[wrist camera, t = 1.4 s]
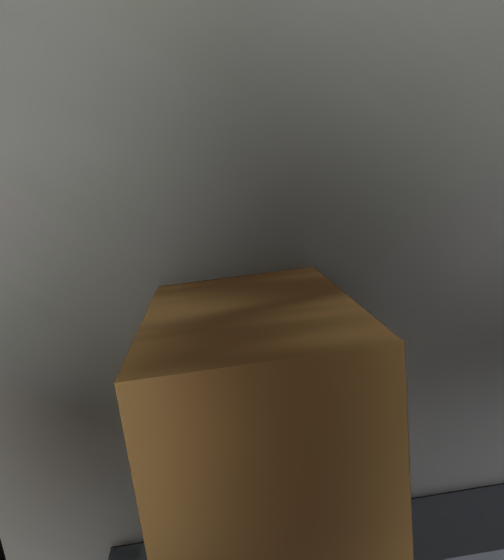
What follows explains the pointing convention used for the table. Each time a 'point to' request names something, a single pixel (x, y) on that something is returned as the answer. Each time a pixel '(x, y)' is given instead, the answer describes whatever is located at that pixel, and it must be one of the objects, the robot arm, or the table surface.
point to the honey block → (267, 423)
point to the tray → (434, 527)
